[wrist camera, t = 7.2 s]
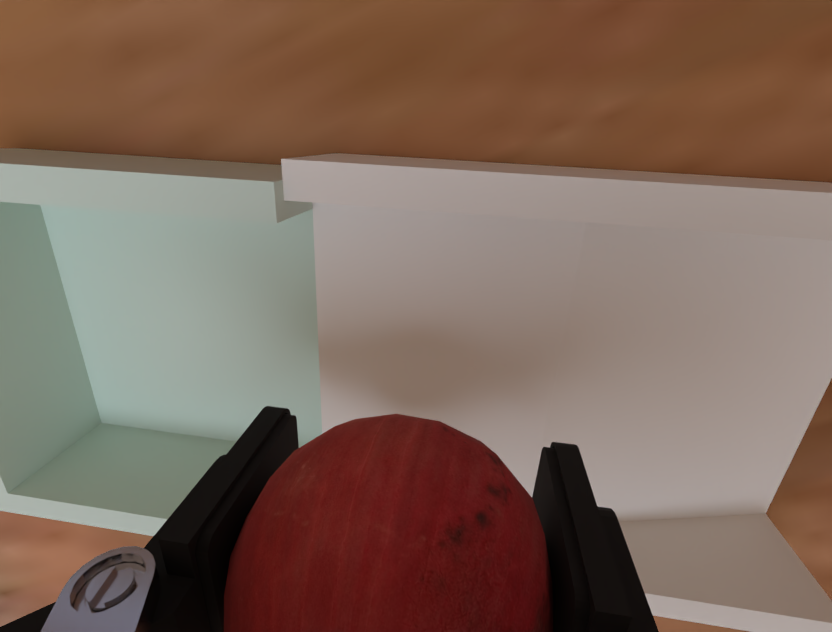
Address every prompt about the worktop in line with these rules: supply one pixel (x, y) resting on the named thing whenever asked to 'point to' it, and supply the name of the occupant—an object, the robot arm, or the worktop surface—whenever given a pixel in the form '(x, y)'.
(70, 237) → the tray
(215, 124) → the worktop surface
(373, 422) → the red round fruit
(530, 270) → the white piece
